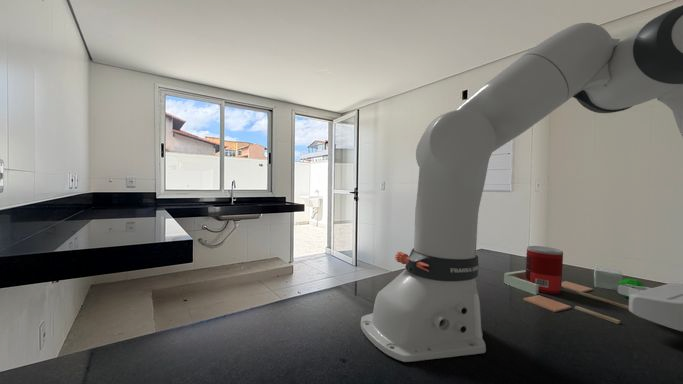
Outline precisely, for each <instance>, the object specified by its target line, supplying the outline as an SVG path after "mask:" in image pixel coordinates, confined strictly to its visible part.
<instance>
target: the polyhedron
mask: <svg viewBox="0 0 683 384" xmlns="http://www.w3.org/2000/svg"><path fill="white" fill-rule="evenodd" d="M624 284H629V285H633V286H640V287H646V286H645V285H644V283H643V282H642V281H641V282H640V281H639V280H638V279H633V278H626V279H625V278H624V279H622V281H621V282H620V283H619V286H620V285H624ZM621 295H622V296H623V297H625V298H627V299H629V296H626V295H623V294H621Z"/></svg>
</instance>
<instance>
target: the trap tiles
mask: <svg viewBox="0 0 683 384" xmlns="http://www.w3.org/2000/svg"><path fill="white" fill-rule="evenodd" d="M561 288H562V289H563V288H564V289H566V290H569V291H573V292H576V293H579V292H584V293H587V292H590V291H593V290H594V289H593V288H592V287H589V286H588V287H587V286H586V285H581V284H579V283H574V282H570V281H568V280H566V281H564V280H563V281H562V283H561ZM522 300H523V301H525V302H528V303H531V304H534V305H535V306H538V307H541V308H543V309H546V310H549V311H551V312H554V313H557V312H561V311H565V310H569V309H571V308H572V306H571V305H568V304H565V303H563V302H560V301H558V300H554V299H550V298H548V297H545V296H542V295H540V294H538V295H533V296H528V297H523V299H522Z"/></svg>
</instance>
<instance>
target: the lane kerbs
mask: <svg viewBox="0 0 683 384" xmlns="http://www.w3.org/2000/svg"><path fill="white" fill-rule="evenodd" d="M577 293H578V295H582V296H584V297H587V298H590V299H594V300H597V301H600V302H604V303H607V304H610V305H613V306H616V307H620V308H622V309H626V310H628V311H629V305H627V304H622V303H619V302H616V301H612V300H609V299H607V298H603V297H600V296H597V295H594V294H590V293H587V292H577ZM574 310H578V311H579V312H580V311H581V312H583V313H586V314H589V315H592V316H594V317H597V318H600V319H603V320H606V321H609V322H611V323H614V324H617V325H619V324H620V323H621V320H620V319H618V318H614V317H611V316H608V315H605V314H601V313H600V312H596V311H593V310H590V309H587V308H585V307H582V306H578V305H575V306H574Z"/></svg>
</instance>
